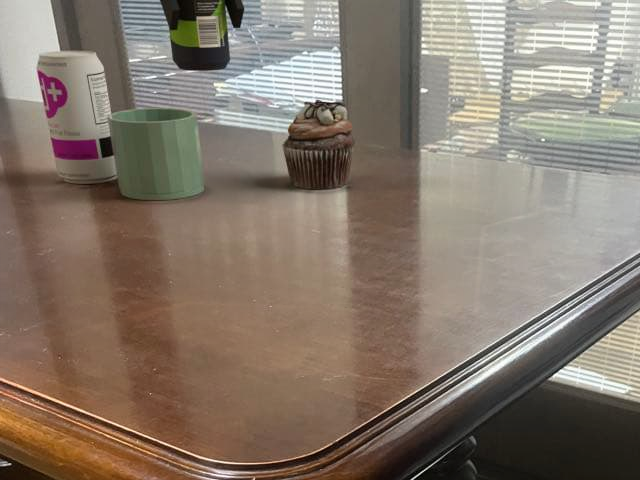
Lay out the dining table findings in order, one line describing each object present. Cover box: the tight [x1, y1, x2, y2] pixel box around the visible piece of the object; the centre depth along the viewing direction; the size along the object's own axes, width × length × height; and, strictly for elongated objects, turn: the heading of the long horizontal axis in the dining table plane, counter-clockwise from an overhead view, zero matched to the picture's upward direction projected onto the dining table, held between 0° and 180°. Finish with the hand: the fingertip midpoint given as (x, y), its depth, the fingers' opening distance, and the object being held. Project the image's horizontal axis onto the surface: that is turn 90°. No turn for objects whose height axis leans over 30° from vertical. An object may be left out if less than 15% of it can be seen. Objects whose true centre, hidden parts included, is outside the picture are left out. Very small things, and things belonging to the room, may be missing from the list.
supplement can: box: [36, 50, 118, 185], centre depth 116 cm, size 8×8×15 cm
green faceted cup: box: [107, 107, 206, 201], centre depth 112 cm, size 11×11×9 cm
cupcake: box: [281, 99, 356, 190], centre depth 116 cm, size 10×10×10 cm
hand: (207, 19), depth 92 cm, fingers closed on beverage can, 6 cm apart
